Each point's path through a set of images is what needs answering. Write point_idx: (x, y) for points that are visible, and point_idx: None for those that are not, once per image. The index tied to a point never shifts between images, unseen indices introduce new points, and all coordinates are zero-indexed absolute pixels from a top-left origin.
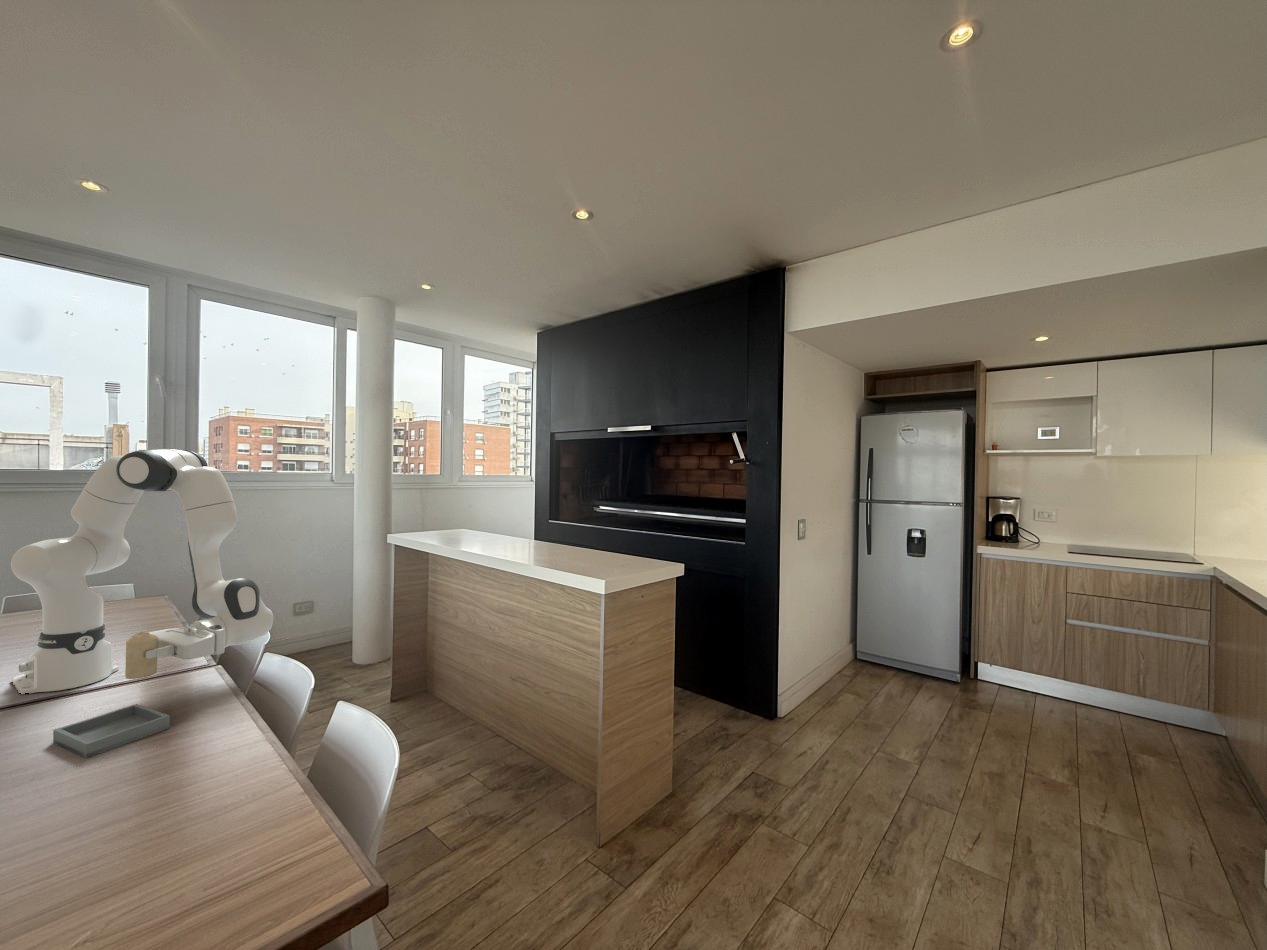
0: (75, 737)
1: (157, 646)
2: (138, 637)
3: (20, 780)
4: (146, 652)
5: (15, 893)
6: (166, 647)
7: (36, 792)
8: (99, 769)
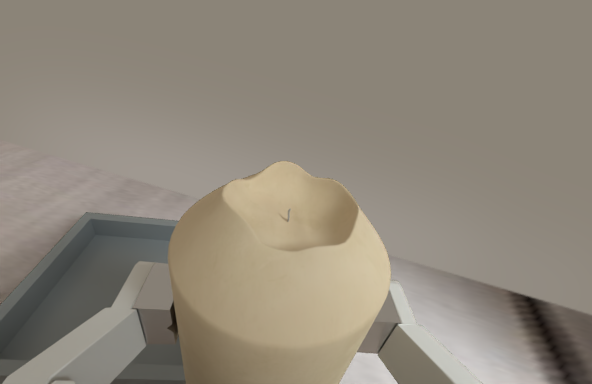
0: (145, 220)
1: (202, 371)
2: (248, 178)
3: (139, 187)
4: (153, 262)
5: None
6: (24, 369)
7: (75, 178)
8: (19, 222)
